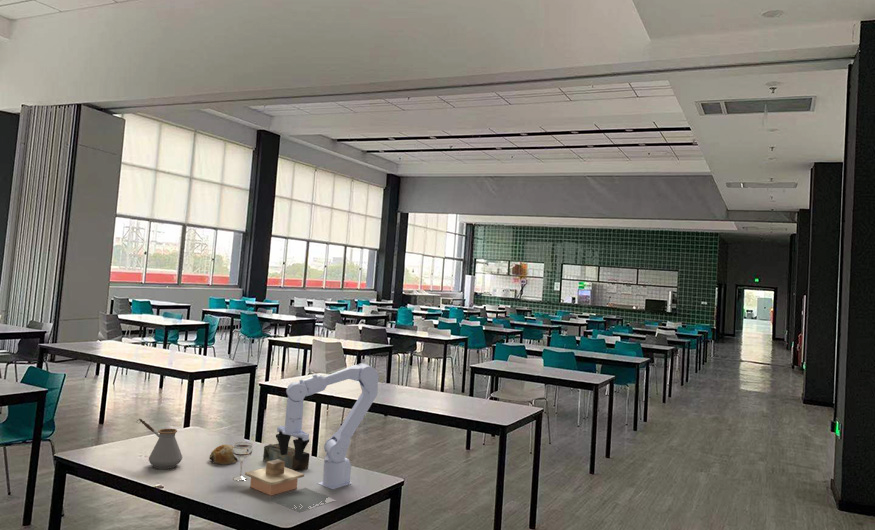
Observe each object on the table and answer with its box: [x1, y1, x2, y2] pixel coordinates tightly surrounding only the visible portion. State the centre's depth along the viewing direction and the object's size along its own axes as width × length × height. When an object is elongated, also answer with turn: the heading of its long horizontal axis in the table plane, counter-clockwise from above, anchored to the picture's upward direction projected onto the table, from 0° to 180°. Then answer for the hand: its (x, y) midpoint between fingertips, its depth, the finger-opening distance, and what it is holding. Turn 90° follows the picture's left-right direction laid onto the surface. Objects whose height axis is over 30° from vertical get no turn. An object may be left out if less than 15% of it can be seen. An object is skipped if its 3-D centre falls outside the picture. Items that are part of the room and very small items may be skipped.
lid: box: [244, 459, 305, 485], centre depth 216 cm, size 14×14×5 cm
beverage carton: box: [262, 443, 310, 472], centre depth 244 cm, size 8×19×7 cm, turn 50°
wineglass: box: [232, 441, 254, 482], centre depth 225 cm, size 7×7×12 cm
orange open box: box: [249, 477, 299, 497], centre depth 216 cm, size 11×11×4 cm
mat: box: [267, 487, 329, 513], centre depth 207 cm, size 16×16×1 cm
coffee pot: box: [136, 418, 183, 470], centre depth 235 cm, size 21×12×15 cm, turn 65°
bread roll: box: [209, 444, 238, 465], centre depth 244 cm, size 10×10×8 cm
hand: (290, 457), depth 219 cm, fingers open, 7 cm apart
